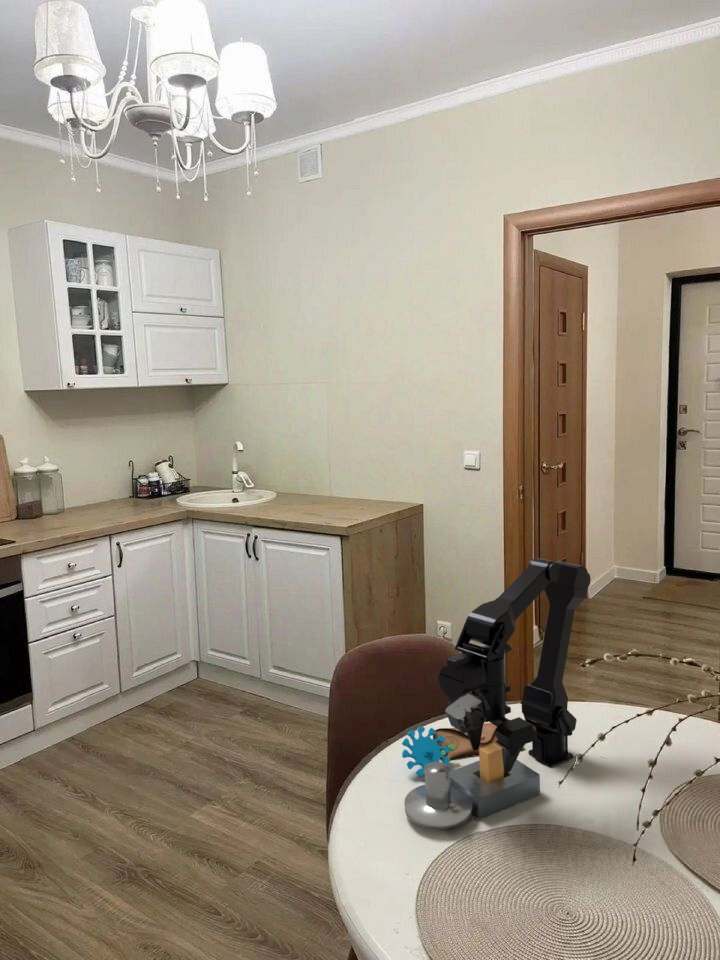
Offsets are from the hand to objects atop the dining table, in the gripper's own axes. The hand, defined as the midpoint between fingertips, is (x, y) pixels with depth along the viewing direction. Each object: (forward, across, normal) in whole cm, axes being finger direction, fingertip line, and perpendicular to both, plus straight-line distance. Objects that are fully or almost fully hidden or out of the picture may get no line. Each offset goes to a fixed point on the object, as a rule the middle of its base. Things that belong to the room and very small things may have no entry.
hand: (491, 760), depth 136 cm
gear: (+7, -14, -5) cm, 16 cm away
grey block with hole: (+7, 0, -5) cm, 9 cm away
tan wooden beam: (+7, 0, 0) cm, 7 cm away
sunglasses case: (+7, -15, +9) cm, 19 cm away
